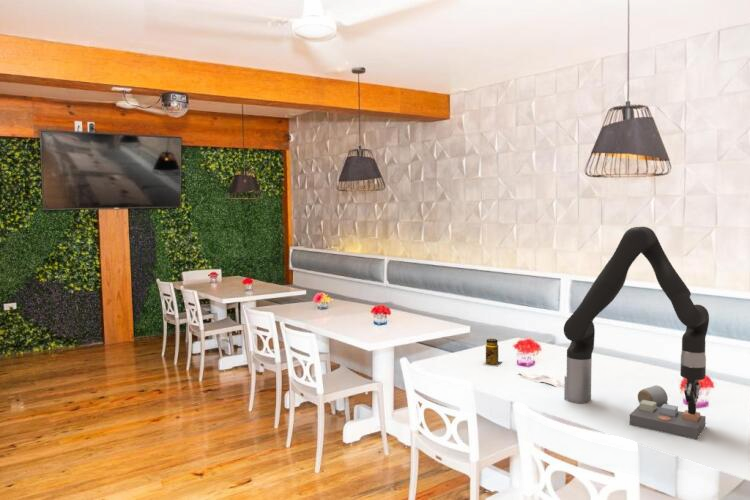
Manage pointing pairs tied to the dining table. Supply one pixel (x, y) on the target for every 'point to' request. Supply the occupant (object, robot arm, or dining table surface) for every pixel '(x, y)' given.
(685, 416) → the terracotta key
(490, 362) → the condiment
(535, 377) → the cloth
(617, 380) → the dining table surface
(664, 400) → the ceramic mug
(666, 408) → the blue key
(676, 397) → the dining table surface
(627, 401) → the dining table surface
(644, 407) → the sage key
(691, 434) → the key panel
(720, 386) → the dining table surface
